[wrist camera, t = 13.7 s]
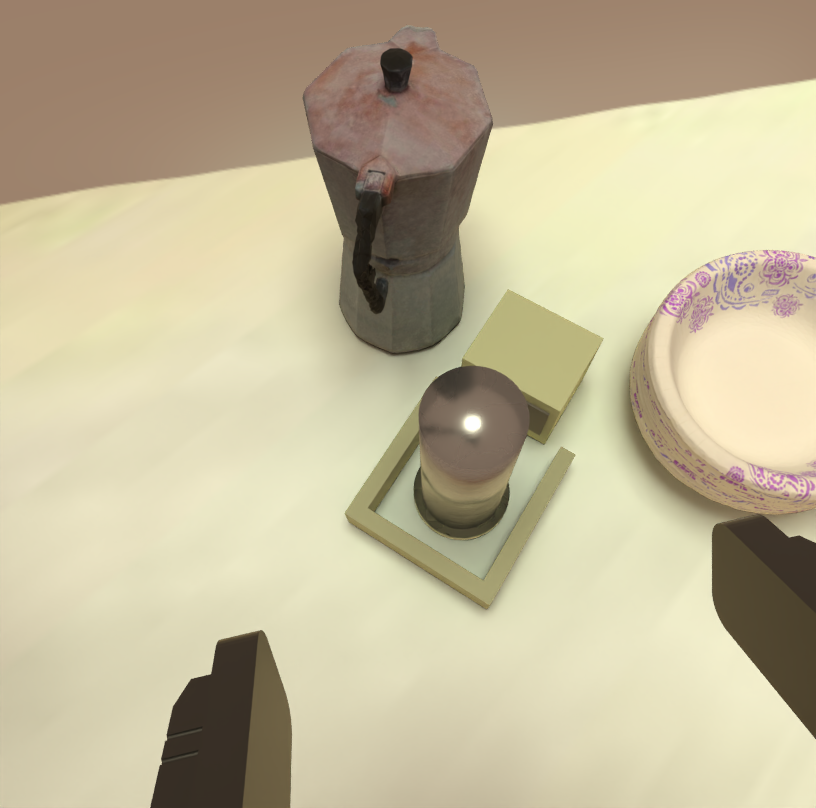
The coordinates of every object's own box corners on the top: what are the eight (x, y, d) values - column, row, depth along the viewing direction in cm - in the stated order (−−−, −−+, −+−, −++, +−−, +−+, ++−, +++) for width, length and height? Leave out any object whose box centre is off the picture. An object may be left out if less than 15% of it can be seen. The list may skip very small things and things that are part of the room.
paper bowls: (707, 570, 42) (767, 548, 35) (572, 369, 47) (598, 312, 40) (903, 458, 44) (998, 414, 37) (754, 277, 49) (811, 207, 42)
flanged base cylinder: (478, 558, 43) (498, 506, 30) (396, 507, 44) (381, 436, 31) (525, 478, 44) (564, 395, 31) (445, 432, 46) (451, 334, 33)
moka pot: (480, 220, 52) (509, -35, 33) (461, 411, 46) (483, 232, 28) (355, 210, 53) (314, -46, 34) (321, 397, 47) (250, 213, 28)
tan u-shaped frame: (486, 609, 42) (495, 599, 36) (348, 522, 44) (337, 499, 38) (609, 393, 46) (634, 354, 41) (480, 324, 49) (486, 278, 43)
